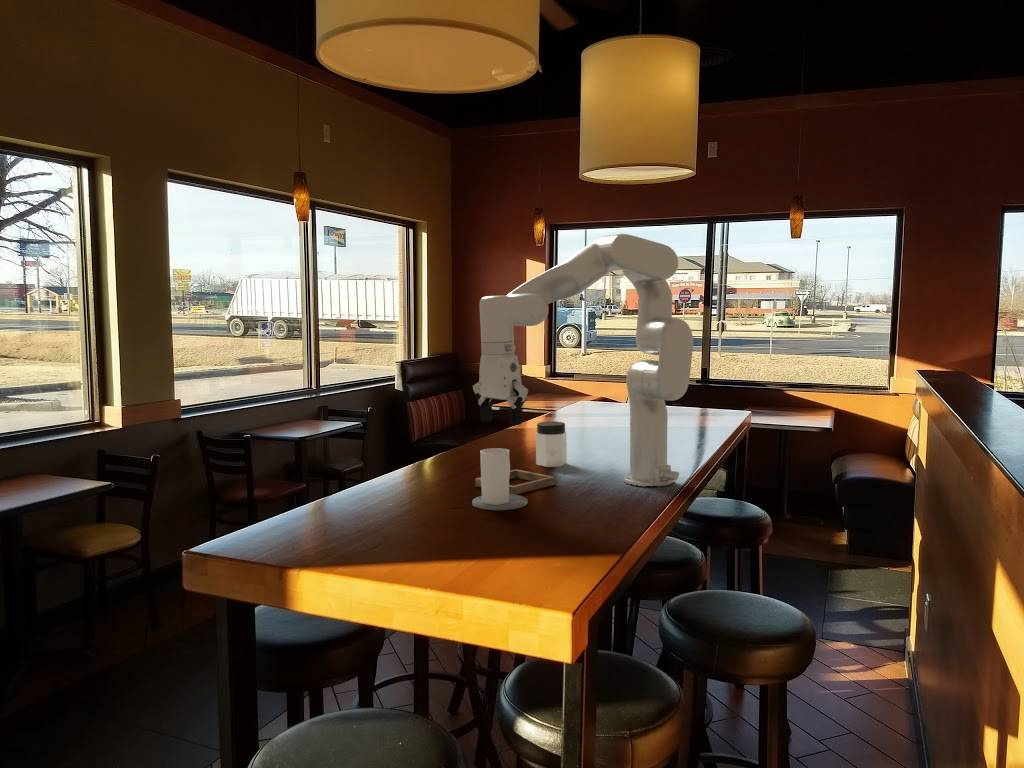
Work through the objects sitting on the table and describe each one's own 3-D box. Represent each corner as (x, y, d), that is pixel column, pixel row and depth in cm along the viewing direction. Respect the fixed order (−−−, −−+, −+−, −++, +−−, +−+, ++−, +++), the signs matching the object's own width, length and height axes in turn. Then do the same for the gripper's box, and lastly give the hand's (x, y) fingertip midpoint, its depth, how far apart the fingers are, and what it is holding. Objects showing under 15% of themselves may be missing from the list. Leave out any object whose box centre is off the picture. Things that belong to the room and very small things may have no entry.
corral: (554, 484, 197) (554, 476, 197) (513, 495, 186) (513, 487, 186) (516, 476, 207) (516, 469, 207) (475, 486, 196) (474, 478, 196)
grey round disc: (539, 502, 179) (539, 500, 179) (499, 513, 170) (499, 511, 170) (500, 493, 188) (500, 491, 188) (460, 503, 179) (460, 501, 179)
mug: (500, 506, 173) (499, 454, 172) (475, 503, 177) (474, 452, 176) (521, 497, 182) (521, 447, 181) (497, 494, 185) (497, 445, 184)
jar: (538, 467, 218) (538, 426, 217) (533, 462, 226) (533, 421, 225) (569, 466, 219) (569, 425, 218) (563, 460, 227) (563, 420, 226)
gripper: (536, 349, 172) (539, 424, 174) (484, 347, 184) (487, 417, 186) (512, 351, 167) (516, 429, 169) (460, 350, 179) (464, 422, 181)
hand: (501, 423), depth 178 cm, fingers open, 9 cm apart
